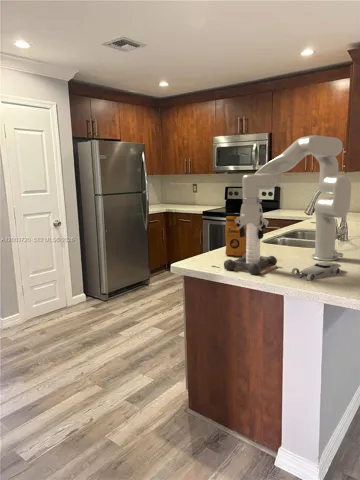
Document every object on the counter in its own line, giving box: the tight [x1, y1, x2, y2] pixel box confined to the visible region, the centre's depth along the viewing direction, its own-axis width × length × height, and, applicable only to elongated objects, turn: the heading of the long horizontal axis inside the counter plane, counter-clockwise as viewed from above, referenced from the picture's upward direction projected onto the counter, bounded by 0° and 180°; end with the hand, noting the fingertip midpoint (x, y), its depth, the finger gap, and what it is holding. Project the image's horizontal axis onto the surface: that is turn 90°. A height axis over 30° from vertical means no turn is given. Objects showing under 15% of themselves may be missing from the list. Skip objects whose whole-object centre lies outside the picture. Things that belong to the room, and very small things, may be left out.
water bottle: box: [241, 214, 261, 264], centre depth 167 cm, size 9×6×25 cm
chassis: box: [223, 253, 278, 276], centre depth 168 cm, size 20×19×5 cm
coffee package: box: [224, 215, 247, 257], centre depth 195 cm, size 10×12×22 cm
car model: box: [291, 261, 343, 282], centre depth 155 cm, size 11×24×5 cm, turn 118°
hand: (251, 237), depth 166 cm, fingers open, 9 cm apart
